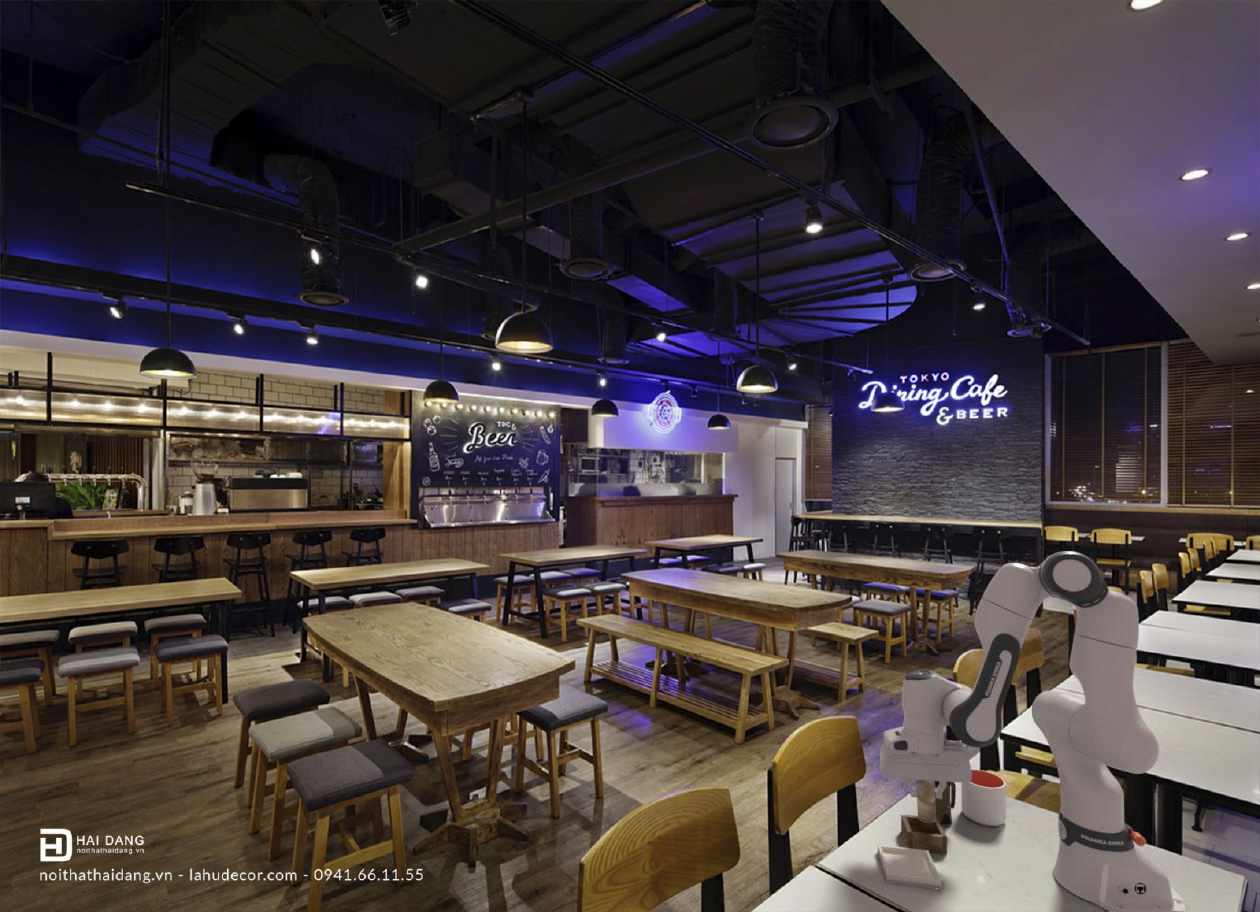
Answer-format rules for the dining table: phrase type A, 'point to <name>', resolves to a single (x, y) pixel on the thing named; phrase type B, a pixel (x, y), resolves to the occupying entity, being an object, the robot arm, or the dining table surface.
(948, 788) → the mug
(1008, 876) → the dining table surface
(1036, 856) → the dining table surface
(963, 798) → the cup
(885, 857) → the tray
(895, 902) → the dining table surface
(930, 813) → the dowel
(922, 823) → the holder
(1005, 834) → the dining table surface
